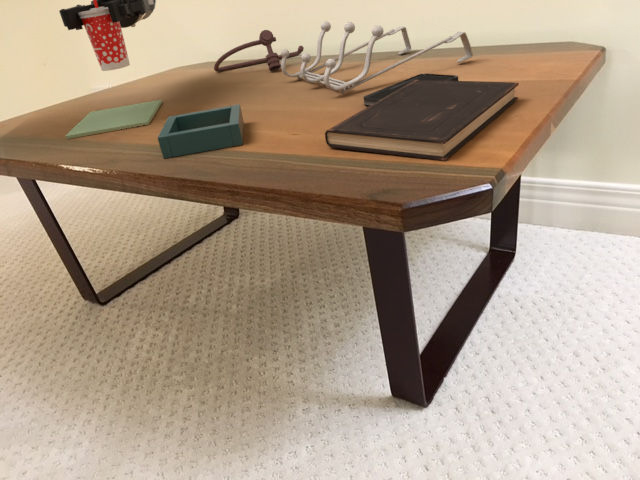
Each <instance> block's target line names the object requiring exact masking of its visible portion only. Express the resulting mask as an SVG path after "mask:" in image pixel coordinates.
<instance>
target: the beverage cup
mask: <svg viewBox="0 0 640 480" xmlns="http://www.w3.org/2000/svg"><path fill="white" fill-rule="evenodd" d="M92 1H93V2H94V5H95V8H92V9H90V10H88V11H83V12H79V13H78V15H79V18H81V19H82V22H83V24H84V25H83V27H84V29H85V31H86V34H87V37H88V39H89V42H90V44H91V47H92V49H93V52H94V55H95V57H96V60H97V62H98V65H99V67H100V70H101V71H102V72H109V71H114V70H115V71H116V70H119V69H123V68H126V67H129V66H131V63H130V59H129V56H128V51H127V46H126V43H125V39H124V34H123V28H121V25H120V21H119V22H114V23H113V22H112V19H111V16H110V12H109V9H108V7H105V8H104V7H98V4H97V1H96V0H92Z"/></svg>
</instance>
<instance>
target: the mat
mask: <svg viewBox="0 0 640 480" xmlns="http://www.w3.org/2000/svg"><path fill="white" fill-rule="evenodd" d="M162 104H163V100H162V99H156V100H152V101H146V102H140V103H134V104H127V105H123V106H117V107H111V108H106V109H98V110H93V111H89V112H88V114H87V115H85V116H84V117H83V118H82V119H81V120H80V121H79V122H78V123H77V124H76V125H74V127H73V128H72V129H71V130H70V131H69V132H67V133H66V134H65V136H64V137H65V139H66V140H70V139H75V138H81V137H86V136H92V135H93V136H94V135H99V134H103V133H109V132H115V131H121V129H122V130H126V128H127V129H132V127H133V128H138V127H137V126H139V127H144V126H143V125H145V126H149V125H150V124H151V121H153V119H154V117H155V115H156V113H157V112H158V110H159V108H160V107H161V105H162Z"/></svg>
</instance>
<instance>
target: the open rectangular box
mask: <svg viewBox="0 0 640 480" xmlns="http://www.w3.org/2000/svg"><path fill="white" fill-rule="evenodd" d="M244 121H245V120H244V116H243V112H242V108H241V104H240V103H238V104H232V105H227V106H221V107H216V108H210V109H204V110H199V111H193V112H188V113H181V114H177V115H169V116H167V119H166V121H165V123H164V125H163V127H161V130H160V132H159V134H158V136H157V142H158V144H159V145H158V146H159V147H160V151H161V154H162V158H163V159H164V160H165V159H170V158H171V159H172V158H175V157H182V156H187V155H192V154H198V153H204V152H209V151H215V150H220V149H227V148H232V147H237V146H243V145H244V135H245V134H244V133H245V122H244Z"/></svg>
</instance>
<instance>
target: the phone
mask: <svg viewBox="0 0 640 480" xmlns="http://www.w3.org/2000/svg"><path fill="white" fill-rule="evenodd" d="M414 80H443V81H459V76H458V75H454V74H439V73H419V74H416V75H413V76H411V77H408V78H406V79H404V80H401V81H398V82H396V83H394V84H391V85H388V86H386V87H383V88H381V89H378V90H376V91H374V92H371V93H369V94H366V95H364V96H363V105H364V106H366V107H369V106H370V105H372V104H374V103H376V102H377V101H379V100H381V99H383V98H384V97H386V96H388V95H390V94H391V93H393V92H395V91H397V90H398V89H400V88H402V87H404V86H405V85H407V84H409V83H411V82H412V81H414Z"/></svg>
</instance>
